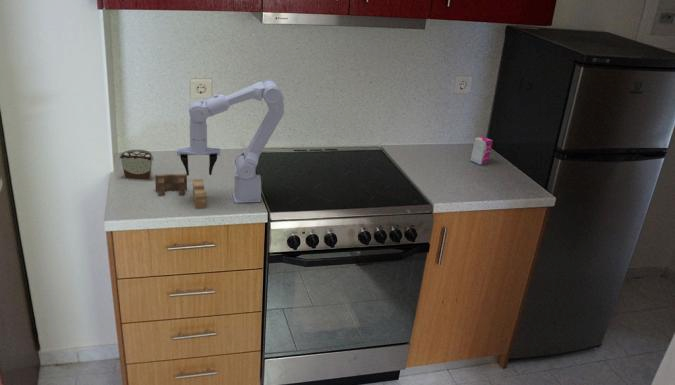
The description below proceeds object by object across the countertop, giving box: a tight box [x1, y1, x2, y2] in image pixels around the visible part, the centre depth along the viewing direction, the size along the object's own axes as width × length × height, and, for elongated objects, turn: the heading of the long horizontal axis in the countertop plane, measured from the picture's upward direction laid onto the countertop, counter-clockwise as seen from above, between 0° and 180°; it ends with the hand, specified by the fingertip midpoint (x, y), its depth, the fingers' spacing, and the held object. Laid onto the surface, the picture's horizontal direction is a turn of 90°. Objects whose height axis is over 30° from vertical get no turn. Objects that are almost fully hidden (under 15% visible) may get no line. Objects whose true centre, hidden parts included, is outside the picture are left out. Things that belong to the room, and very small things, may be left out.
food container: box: [118, 149, 155, 182], centre depth 225 cm, size 12×6×10 cm, turn 92°
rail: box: [192, 178, 207, 210], centre depth 213 cm, size 14×4×5 cm, turn 16°
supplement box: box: [469, 136, 494, 166], centre depth 268 cm, size 6×6×12 cm
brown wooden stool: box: [154, 173, 188, 197], centre depth 216 cm, size 11×5×6 cm, turn 105°
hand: (199, 174), depth 209 cm, fingers open, 7 cm apart
